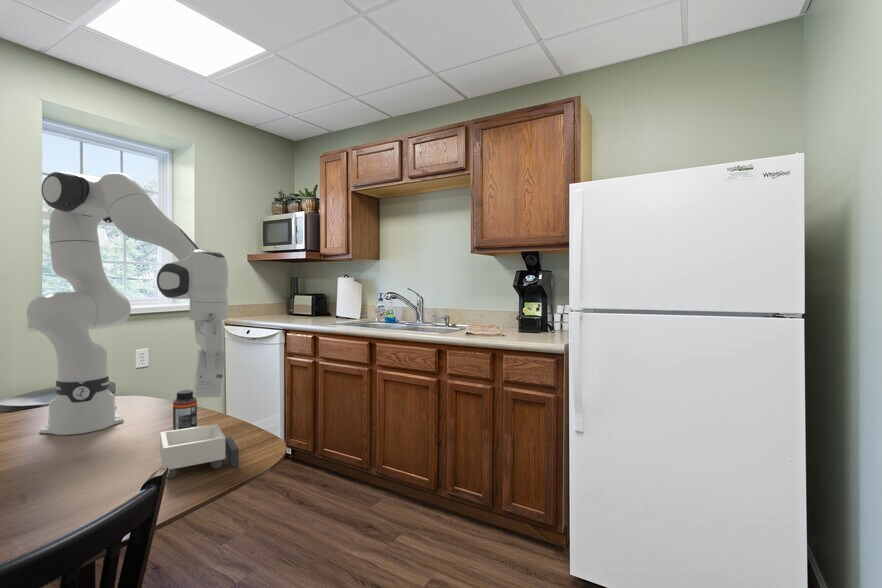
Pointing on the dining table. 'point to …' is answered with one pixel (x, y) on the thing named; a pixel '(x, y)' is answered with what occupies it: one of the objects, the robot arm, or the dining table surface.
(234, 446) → the block
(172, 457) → the cart
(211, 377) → the skincare box
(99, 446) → the dining table surface
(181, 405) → the supplement bottle
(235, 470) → the dining table surface
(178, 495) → the dining table surface
